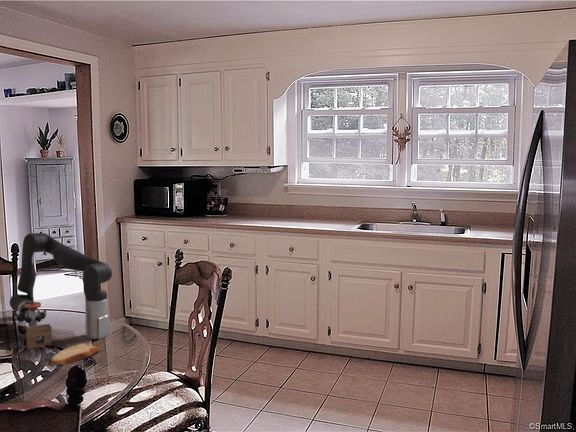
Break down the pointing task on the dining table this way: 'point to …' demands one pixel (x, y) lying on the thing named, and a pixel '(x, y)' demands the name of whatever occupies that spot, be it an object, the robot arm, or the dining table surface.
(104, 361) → the dining table surface
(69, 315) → the dining table surface
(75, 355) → the seeded bread slice
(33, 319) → the copper-capped metal peg
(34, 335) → the brown striped block
